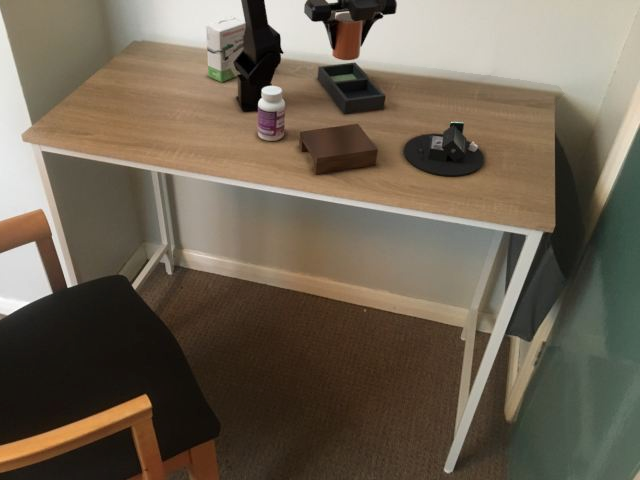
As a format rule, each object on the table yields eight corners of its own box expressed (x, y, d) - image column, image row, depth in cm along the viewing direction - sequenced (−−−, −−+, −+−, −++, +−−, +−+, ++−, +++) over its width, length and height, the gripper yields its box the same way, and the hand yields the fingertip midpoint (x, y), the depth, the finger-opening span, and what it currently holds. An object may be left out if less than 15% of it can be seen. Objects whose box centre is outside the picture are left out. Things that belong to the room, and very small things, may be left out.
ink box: (221, 83, 140) (219, 31, 132) (207, 76, 143) (204, 25, 135) (248, 71, 145) (248, 20, 136) (234, 65, 147) (233, 15, 139)
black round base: (482, 181, 111) (490, 155, 107) (399, 169, 114) (404, 143, 110) (483, 141, 121) (490, 115, 117) (407, 131, 124) (412, 106, 120)
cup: (337, 61, 131) (341, 23, 126) (328, 50, 136) (331, 13, 130) (363, 58, 133) (368, 20, 127) (353, 48, 137) (357, 10, 131)
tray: (344, 114, 129) (345, 100, 127) (317, 79, 141) (318, 66, 139) (383, 109, 131) (385, 95, 129) (353, 75, 143) (355, 62, 141)
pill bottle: (281, 143, 121) (283, 97, 114) (255, 140, 122) (255, 95, 115) (286, 129, 125) (287, 85, 118) (260, 127, 125) (261, 82, 119)
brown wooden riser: (315, 174, 113) (316, 158, 110) (299, 147, 120) (299, 131, 117) (375, 165, 115) (378, 149, 112) (355, 139, 122) (357, 123, 119)
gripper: (324, -14, 115) (318, 67, 126) (414, -22, 118) (401, 57, 129) (305, -31, 123) (301, 46, 133) (390, -38, 126) (380, 37, 137)
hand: (346, 47), depth 133 cm, fingers closed on cup, 6 cm apart
